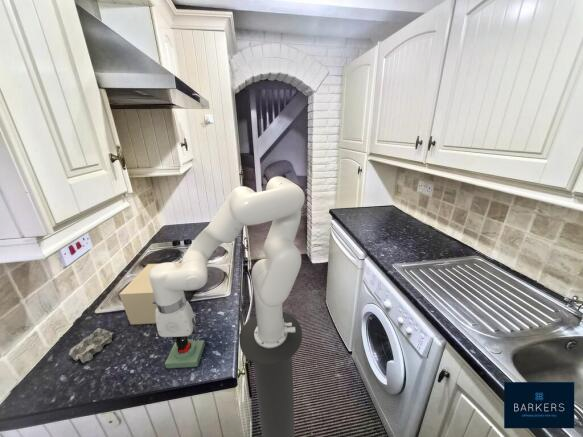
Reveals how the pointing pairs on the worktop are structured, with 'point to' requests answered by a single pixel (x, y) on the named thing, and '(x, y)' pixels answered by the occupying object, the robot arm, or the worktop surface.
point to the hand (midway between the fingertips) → (183, 346)
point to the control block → (186, 355)
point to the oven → (140, 298)
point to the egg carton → (91, 345)
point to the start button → (185, 348)
